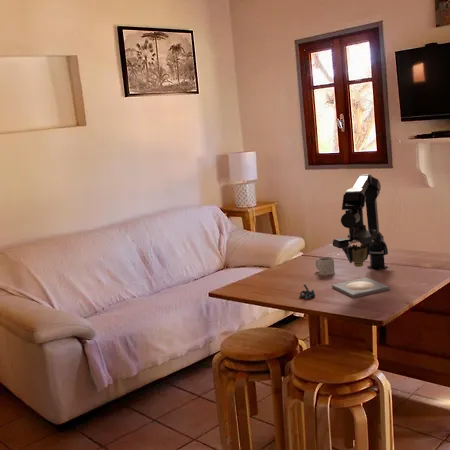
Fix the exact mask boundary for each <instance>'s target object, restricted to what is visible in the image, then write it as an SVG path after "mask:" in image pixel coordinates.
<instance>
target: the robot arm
mask: <svg viewBox="0 0 450 450" xmlns="http://www.w3.org/2000/svg"><path fill="white" fill-rule="evenodd" d="M381 187H382V186H381V182H380V180H379V179H378V178H376V177H374V176H372V174H368V173H366V174H359V175H358V177H357V180H356V182H355V184H354V185H353V186H352V187H351V188H347V190H346V191H345V192H344V193H343V198H342V204H341V210H342V211H344V210H345V211H344V214H343V215H341V217H340V223H341V225H342V226H343V227H344V228H347V229H348V234H347V238H344V237H339V238H338V237H337V238H334V239H333V240H332V247H334V248H337V249H341V250H342V252H344V254H345V256H346V258H347V259H348V261H349V263H350V264H352V263H353V262H352V253H351V250H352V248H353V247H351V246H352V245H351V244H355V243H360V245H365V246H366V245H367V257H366V260H368V258H369V263H370V265H367V268H369V269H371V270H374V271H379V270H381V269H386V268H388V267H389V266H387V265H385V256H386V255H389V250H388V246H387V243H386V241H385V238H384V235H383V234H382V233H381V231H380V225H379V215H378V201H377V199H378V197H379V196H380V191H381ZM364 207H365V210H366V219H367V222H366V223H367V226H366V224H364V211H363V210H364ZM350 245H351V246H350ZM366 260H365V261H366Z"/></svg>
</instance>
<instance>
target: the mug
mask: <svg viewBox="0 0 450 450" xmlns="http://www.w3.org/2000/svg"><path fill="white" fill-rule="evenodd" d="M315 267H316V270H318V273H319V274H318V275H320V276H322V277H323V276H324V277H325V276H328V275H329V276H333V275H335V273H336V271H335V270H336V269H335V260H334V257H332V256H331V257H330V256H323V257H319V258H318V259H316V260H315Z"/></svg>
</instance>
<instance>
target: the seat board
mask: <svg viewBox="0 0 450 450" xmlns="http://www.w3.org/2000/svg"><path fill="white" fill-rule="evenodd" d="M331 288H332V289H334V290H337V291H339V292H341V293H343V294H344V295H346V296H349V297H350V298H353V299H354V298H359V297H362V296H367V295H368V296H369V295H372V294H377V293H380V292H385V291H389V290H390V286H388V285H386V284H384V283H380V282H378V281H376V280H373V279H370V278H368V277H362V278H358V279H353V280H349V281H343V282H338V283H334V284H331Z"/></svg>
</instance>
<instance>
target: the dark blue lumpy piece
mask: <svg viewBox="0 0 450 450" xmlns="http://www.w3.org/2000/svg"><path fill="white" fill-rule="evenodd" d="M303 287H304V289H305V290H302V291H301V292H300V293H299V297H298V299H299V300H300V301H308V300H312V299H313V298H315V297H316V294H315V291H314V289H311V290H309V288H308V286H307V285H306V284H303Z"/></svg>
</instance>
